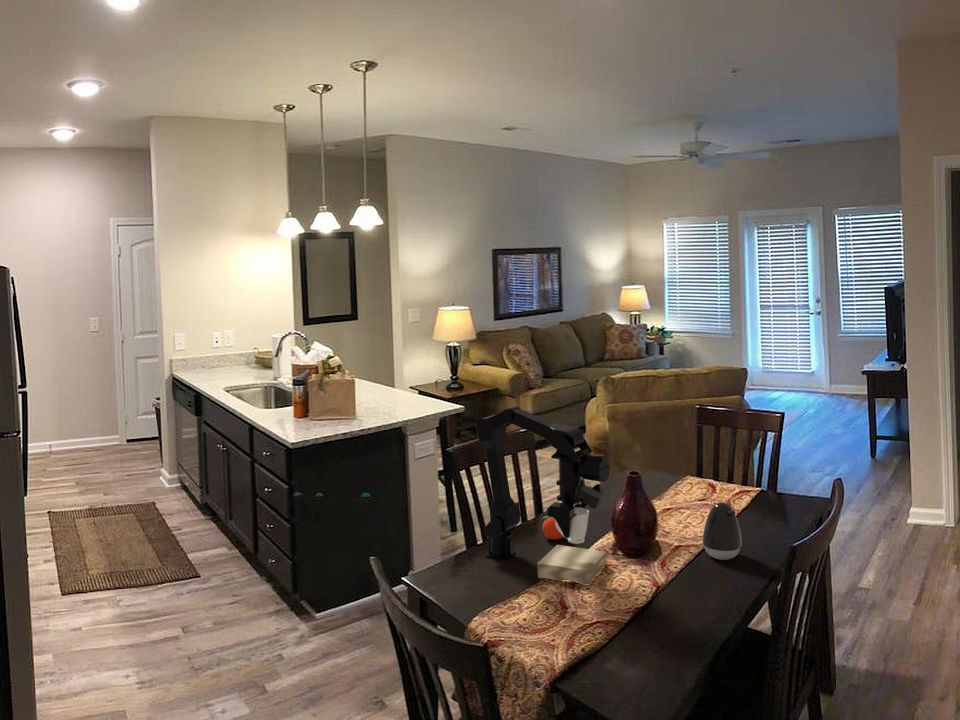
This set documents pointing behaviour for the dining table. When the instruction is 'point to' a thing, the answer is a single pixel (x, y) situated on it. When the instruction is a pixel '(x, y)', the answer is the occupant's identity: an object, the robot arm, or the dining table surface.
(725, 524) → the grey egg-shaped figure
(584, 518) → the cup
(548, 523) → the clementine
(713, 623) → the dining table surface
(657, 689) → the dining table surface
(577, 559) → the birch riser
